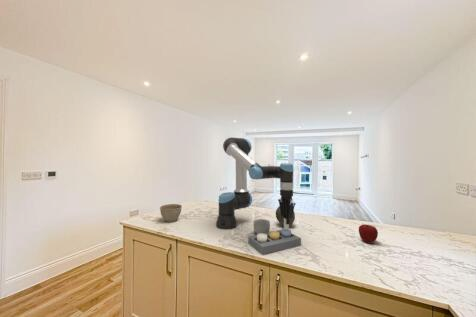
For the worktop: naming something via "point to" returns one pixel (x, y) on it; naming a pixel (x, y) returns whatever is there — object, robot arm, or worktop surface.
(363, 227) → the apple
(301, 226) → the worktop surface
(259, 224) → the teacup
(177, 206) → the planter bowl
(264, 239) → the button ivory
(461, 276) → the worktop surface
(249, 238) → the three ball holder
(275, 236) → the button ochre
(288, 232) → the button blue
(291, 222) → the smooth brown stone
